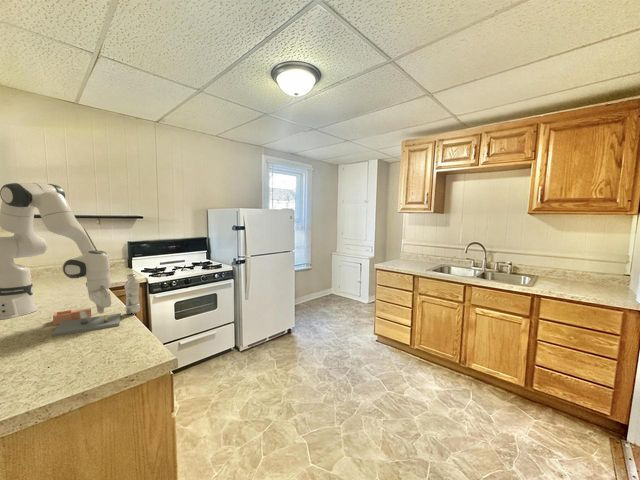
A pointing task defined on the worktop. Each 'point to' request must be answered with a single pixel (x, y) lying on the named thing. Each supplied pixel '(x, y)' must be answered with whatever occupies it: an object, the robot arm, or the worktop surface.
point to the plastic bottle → (132, 294)
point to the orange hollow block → (69, 315)
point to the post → (84, 317)
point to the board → (92, 324)
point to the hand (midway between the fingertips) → (100, 312)
